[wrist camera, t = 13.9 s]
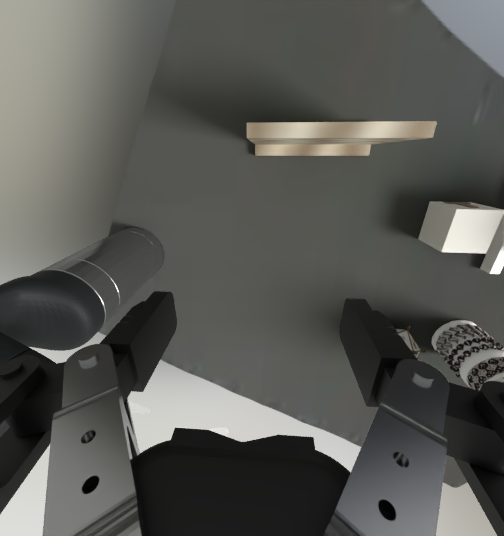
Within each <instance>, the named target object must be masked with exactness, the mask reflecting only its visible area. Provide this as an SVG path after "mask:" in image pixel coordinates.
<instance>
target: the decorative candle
mask: <svg viewBox="0 0 504 536" xmlns="http://www.w3.org/2000/svg"><path fill="white" fill-rule="evenodd" d="M431 344H432V346H433V347H434V349H435V350H436V351H438V352H439V356H441V357H442V358H444V362H447V363H448V365H450V369H451V370H453V371H454V372H455V373H456V376H457V377H459V378H461V379H462V380H463V381H464V382H465V383H466V384H467V385H468V386H469V387H471V388H472V389H474V390H477V391H479V390H480V388H481V386H482V385H483V383H485V382H487V381H498V382H503V383H504V347H503V346H501V344H500V343H496V341H495V340H494V339H493V337H492V336H490V335H488V334H487V333H486V332H485V331H484V330H482V329H481V328H480V327H478V326H477V325H476V324H474V323H473V322H471V321H467V320H455V321H451V322H449V323H446V324H444V325H442V326H441V327H440V328H438V329H437V330H436V331H435V333H434V335H433V336H432V342H431Z"/></svg>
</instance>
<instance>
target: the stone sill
mask: <svg viewBox="0 0 504 536" xmlns="http://www.w3.org/2000/svg"><path fill="white" fill-rule="evenodd" d="M503 266H504V214H503V217H502V219H501V221H500V224H499V226H498V228H497V230H496V233H495V235H494V237H493V240H492V242H491V244H490V247H489V249H488V251H487V253H486V256H485V258H484V260H483V263H482V265H481V267H480V269H482V270H484V271H486V272H487V273H489V274H500V272H501V270H502V268H503Z"/></svg>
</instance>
